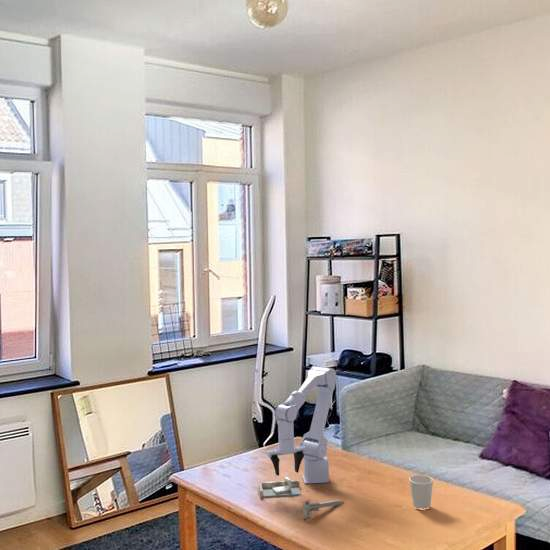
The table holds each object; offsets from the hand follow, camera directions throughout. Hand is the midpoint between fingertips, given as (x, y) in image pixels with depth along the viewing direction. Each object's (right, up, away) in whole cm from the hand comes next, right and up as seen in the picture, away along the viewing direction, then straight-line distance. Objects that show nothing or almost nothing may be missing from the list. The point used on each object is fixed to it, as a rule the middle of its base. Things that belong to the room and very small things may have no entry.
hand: (287, 473), depth 247 cm
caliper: (+13, -8, -17) cm, 23 cm away
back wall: (-3, -7, +5) cm, 9 cm away
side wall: (-10, -7, -1) cm, 12 cm away
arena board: (-2, -7, 0) cm, 8 cm away
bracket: (-2, -7, 0) cm, 7 cm away
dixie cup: (+46, -7, -16) cm, 50 cm away
